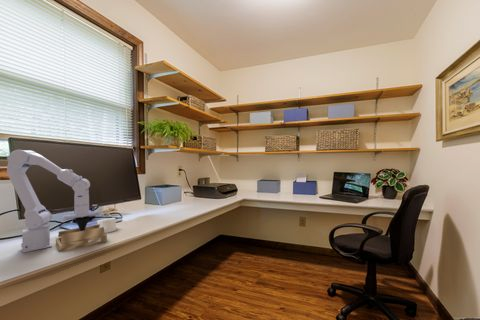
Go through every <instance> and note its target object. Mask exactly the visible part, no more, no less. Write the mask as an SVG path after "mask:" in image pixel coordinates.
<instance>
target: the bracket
mask: <svg viewBox="0 0 480 320" xmlns="http://www.w3.org/2000/svg"><path fill="white" fill-rule="evenodd" d="M116 223H117V221H116V217H111V218H110V217H109V218H104V219H100V220H97V225H98V224H100V227H104V232H105V233H106V234H109V233H111V232H115V231H116V230H117V224H116ZM100 227H99V228H100Z"/></svg>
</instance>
